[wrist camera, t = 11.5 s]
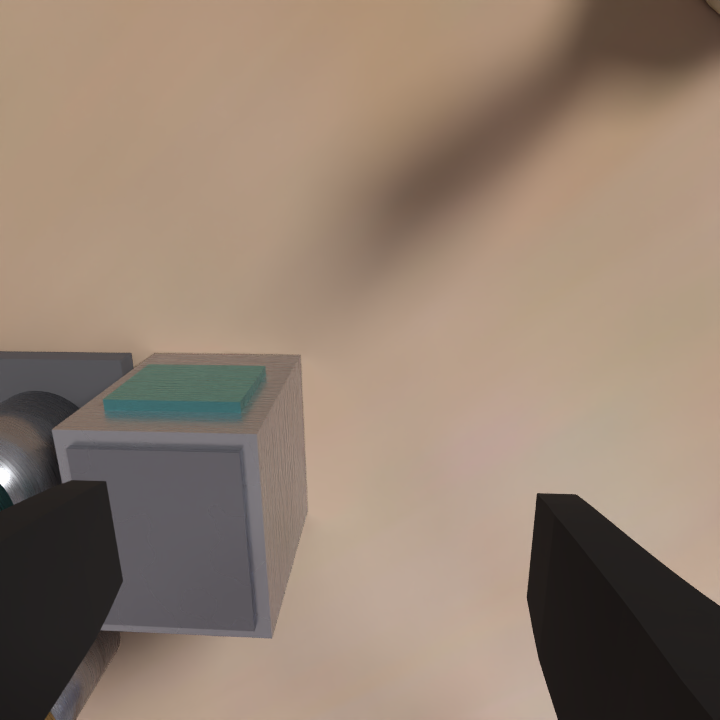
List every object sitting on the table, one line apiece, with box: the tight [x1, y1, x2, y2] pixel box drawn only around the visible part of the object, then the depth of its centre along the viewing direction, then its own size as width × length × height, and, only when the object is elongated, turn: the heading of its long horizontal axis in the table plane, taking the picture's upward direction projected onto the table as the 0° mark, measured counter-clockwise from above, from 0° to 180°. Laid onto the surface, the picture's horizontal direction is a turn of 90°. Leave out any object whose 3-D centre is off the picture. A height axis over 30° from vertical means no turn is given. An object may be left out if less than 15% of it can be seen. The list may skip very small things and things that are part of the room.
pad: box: [0, 351, 134, 408], centre depth 20 cm, size 6×6×1 cm
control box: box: [52, 353, 308, 638], centre depth 17 cm, size 6×5×6 cm
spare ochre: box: [45, 630, 120, 720], centre depth 21 cm, size 4×4×6 cm
